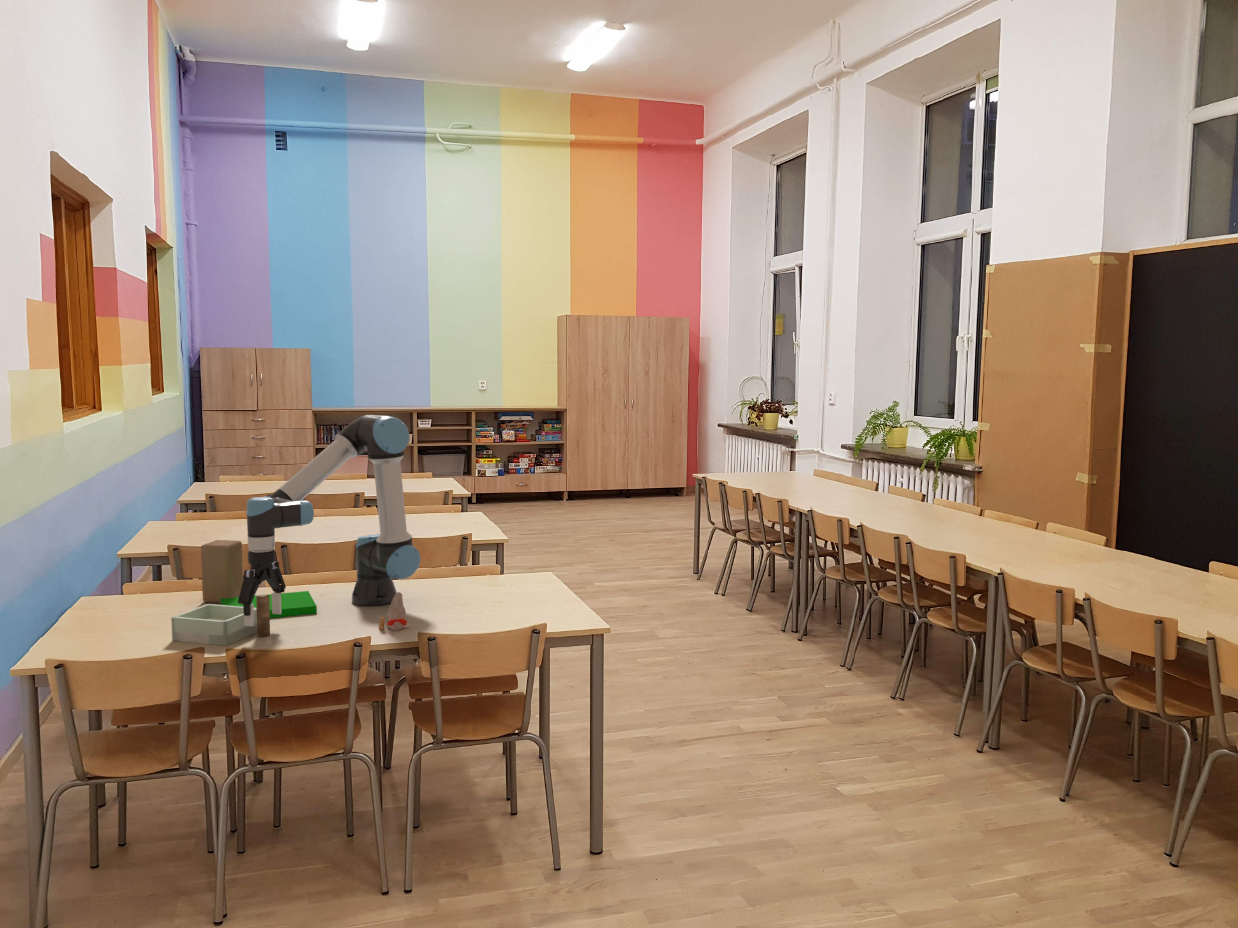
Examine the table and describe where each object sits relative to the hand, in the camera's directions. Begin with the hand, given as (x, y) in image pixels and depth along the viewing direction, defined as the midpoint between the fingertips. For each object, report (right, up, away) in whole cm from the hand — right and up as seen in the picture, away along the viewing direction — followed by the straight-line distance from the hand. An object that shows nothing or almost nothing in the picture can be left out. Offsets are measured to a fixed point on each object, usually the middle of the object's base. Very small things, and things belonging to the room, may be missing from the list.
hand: (263, 619), depth 273 cm
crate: (-14, -5, -1) cm, 14 cm away
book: (-10, -2, +29) cm, 31 cm away
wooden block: (-30, 0, +41) cm, 51 cm away
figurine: (+37, -5, +9) cm, 38 cm away
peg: (0, -5, 0) cm, 5 cm away
